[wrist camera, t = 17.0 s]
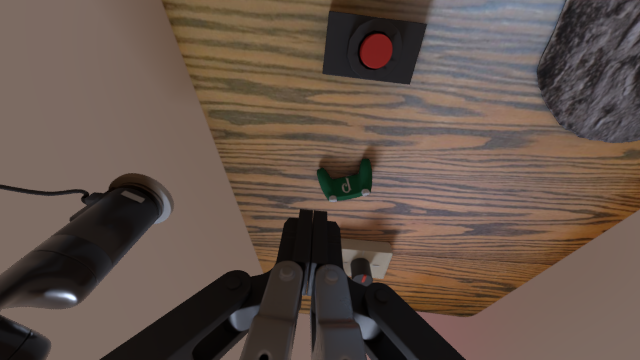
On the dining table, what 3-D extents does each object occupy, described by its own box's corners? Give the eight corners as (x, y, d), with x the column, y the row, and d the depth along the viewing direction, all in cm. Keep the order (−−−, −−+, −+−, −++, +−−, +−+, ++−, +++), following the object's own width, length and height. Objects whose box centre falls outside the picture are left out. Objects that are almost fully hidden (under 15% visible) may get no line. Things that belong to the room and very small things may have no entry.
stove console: (328, 263, 55) (328, 275, 52) (333, 237, 51) (334, 248, 48) (380, 267, 55) (383, 279, 53) (389, 242, 51) (393, 253, 48)
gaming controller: (319, 173, 45) (325, 205, 43) (315, 168, 41) (321, 202, 40) (368, 162, 44) (376, 194, 42) (369, 156, 40) (377, 191, 38)
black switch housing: (322, 71, 34) (322, 75, 31) (329, 12, 31) (329, 9, 27) (405, 82, 35) (414, 87, 31) (421, 24, 31) (432, 23, 28)
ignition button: (357, 65, 30) (358, 66, 29) (362, 31, 29) (364, 31, 27) (385, 68, 31) (388, 70, 29) (392, 35, 29) (396, 35, 27)
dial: (366, 271, 52) (369, 290, 48) (348, 269, 51) (350, 287, 48) (371, 259, 50) (375, 277, 46) (352, 256, 49) (355, 274, 46)
